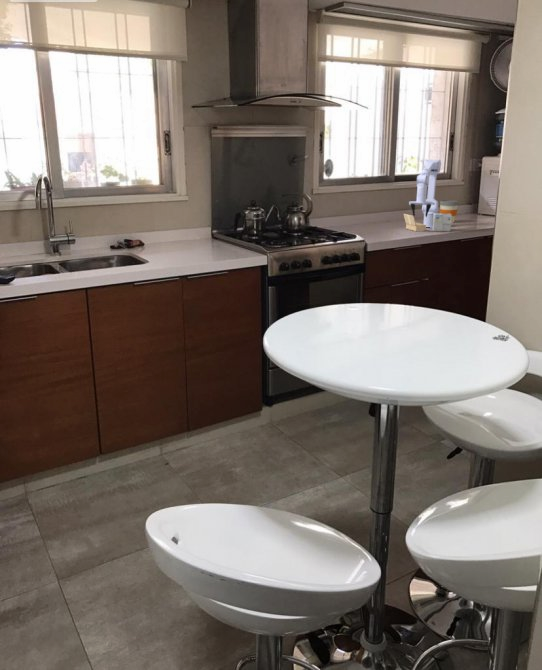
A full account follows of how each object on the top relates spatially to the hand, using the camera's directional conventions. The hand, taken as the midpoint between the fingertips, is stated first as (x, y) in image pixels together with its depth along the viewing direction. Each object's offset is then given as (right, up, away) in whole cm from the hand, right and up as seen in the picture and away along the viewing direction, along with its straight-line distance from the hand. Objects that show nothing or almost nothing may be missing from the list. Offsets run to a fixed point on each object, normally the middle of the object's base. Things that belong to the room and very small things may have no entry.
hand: (419, 216), depth 375 cm
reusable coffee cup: (+32, +5, +49) cm, 59 cm away
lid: (-4, 0, +9) cm, 10 cm away
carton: (0, -6, +13) cm, 14 cm away
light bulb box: (+16, -7, +11) cm, 21 cm away
